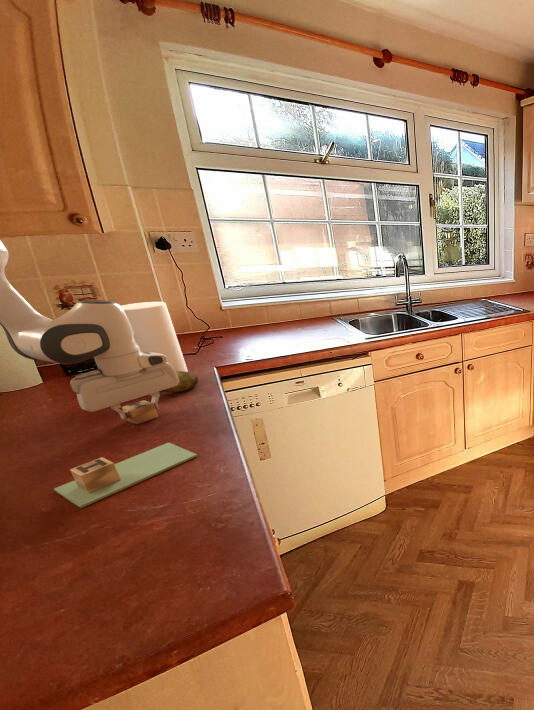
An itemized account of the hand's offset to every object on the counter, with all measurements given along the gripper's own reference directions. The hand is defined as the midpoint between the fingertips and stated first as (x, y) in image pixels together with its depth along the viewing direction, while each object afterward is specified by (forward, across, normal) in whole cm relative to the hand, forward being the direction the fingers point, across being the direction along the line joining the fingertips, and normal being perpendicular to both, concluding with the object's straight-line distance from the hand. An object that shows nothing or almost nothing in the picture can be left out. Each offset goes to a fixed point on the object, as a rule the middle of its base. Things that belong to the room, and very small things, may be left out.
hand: (141, 413), depth 111 cm
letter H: (+1, -19, -28) cm, 34 cm away
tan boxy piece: (+2, 0, 0) cm, 2 cm away
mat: (+2, -14, -28) cm, 31 cm away
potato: (+2, +14, +13) cm, 19 cm away
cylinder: (+2, +17, +25) cm, 30 cm away
